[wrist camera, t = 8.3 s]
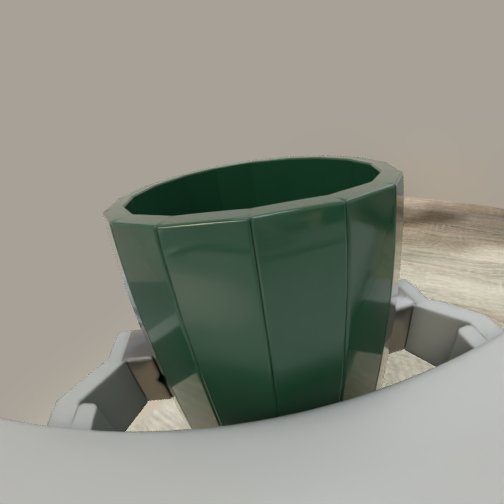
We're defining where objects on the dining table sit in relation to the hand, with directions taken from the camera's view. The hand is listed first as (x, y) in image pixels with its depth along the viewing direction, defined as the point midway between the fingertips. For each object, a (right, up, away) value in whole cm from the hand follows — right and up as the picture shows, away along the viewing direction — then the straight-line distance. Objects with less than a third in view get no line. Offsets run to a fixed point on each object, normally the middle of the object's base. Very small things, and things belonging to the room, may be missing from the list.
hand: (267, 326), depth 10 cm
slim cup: (+1, -7, +2) cm, 7 cm away
